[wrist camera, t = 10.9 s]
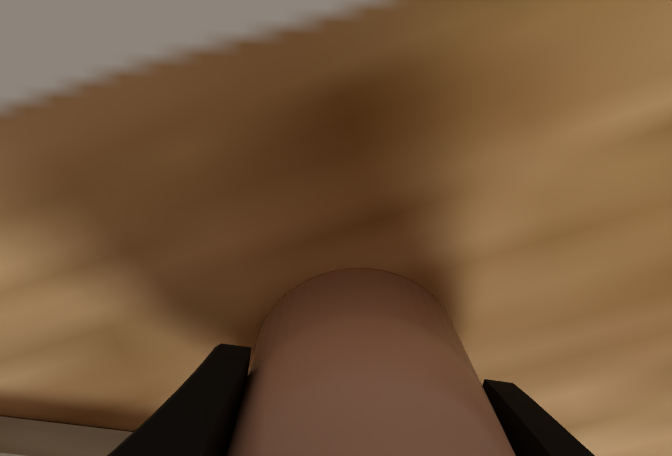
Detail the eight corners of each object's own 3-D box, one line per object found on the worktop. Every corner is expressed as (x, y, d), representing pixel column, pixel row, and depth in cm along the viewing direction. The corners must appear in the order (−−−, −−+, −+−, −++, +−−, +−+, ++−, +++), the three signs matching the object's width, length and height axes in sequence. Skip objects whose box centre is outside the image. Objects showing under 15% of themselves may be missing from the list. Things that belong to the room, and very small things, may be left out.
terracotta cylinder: (430, 448, 12) (500, 711, 7) (245, 426, 11) (185, 687, 6) (481, 285, 10) (618, 481, 5) (267, 253, 10) (208, 433, 5)
